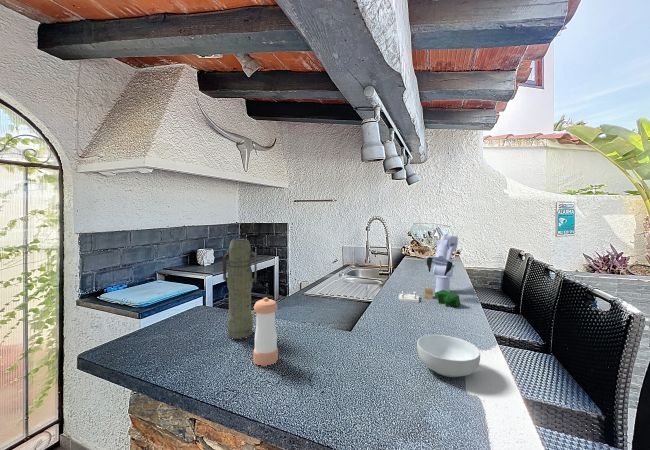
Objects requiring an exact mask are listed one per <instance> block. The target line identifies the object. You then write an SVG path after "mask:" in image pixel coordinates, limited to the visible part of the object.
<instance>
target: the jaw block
mask: <svg viewBox="0 0 650 450" xmlns="http://www.w3.org/2000/svg"><path fill="white" fill-rule="evenodd" d="M433 294H434V289H433V287H428V286H427V287H426V286H425V287H424V299H429V300H433V299H434V295H433Z"/></svg>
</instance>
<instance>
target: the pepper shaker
mask: <svg viewBox="0 0 650 450" xmlns="http://www.w3.org/2000/svg"><path fill="white" fill-rule="evenodd" d="M278 307H279V306H278V303H277V301H276V300H273V299H271V298H270V299H269V298H268V297H262V299H259V300H257V301H256V302H255V304H254V306H253V309H254V311H255V313H256V316H255V317H256V322H255V323H256V324H255V325H256V327H255V333H254V349H253V354H252V355H253V363H255V364H257V365H256V366H258V365H261V366H260V367H267V366H266V365H270V366H272V365H271V364H273V363H275V362H276V361H277V360H278V361H279V347H278V335H277V328H276V311H277V309H278ZM278 361H277V362H278ZM277 362H276V363H277ZM276 363H275V364H276ZM255 364H254V365H255ZM273 365H274V364H273Z"/></svg>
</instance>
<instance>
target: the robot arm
mask: <svg viewBox="0 0 650 450" xmlns="http://www.w3.org/2000/svg"><path fill="white" fill-rule="evenodd" d="M458 241H459V238H458V236H457V235H455V236H453V235H441V236H440V238H439V239H438V240H436V246H435V247H436V248H435V249H436V251H435V254H434V255H435V256H431V255H426V256H425V260H424V261H425V262H426V266H427V268H428V272H429V273H430V272H431V269H432V264H434V265H433V271H432V275H434V276H435V288H434V289H433V291H434V294H435V293H436V292H438V291H441V290H445V291H448V292H451V291H450V282H451V281H450V280H451V278H452V277H453V274H454V268H455V265H456V264H455V263H456V262H453V261H452V260H451V257H452V254H453V252H454V251H456V250H457V249H458V245H459V242H458Z"/></svg>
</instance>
